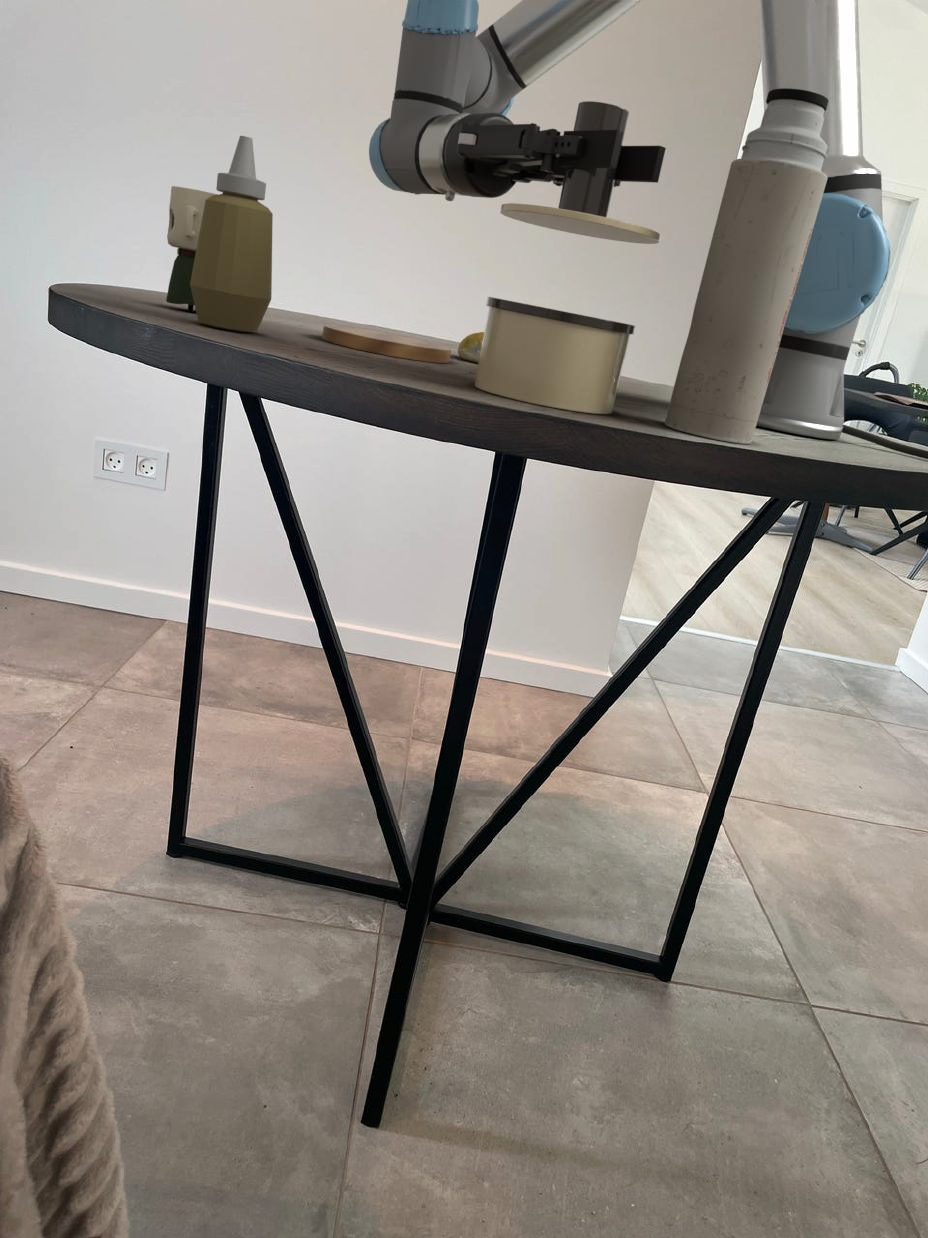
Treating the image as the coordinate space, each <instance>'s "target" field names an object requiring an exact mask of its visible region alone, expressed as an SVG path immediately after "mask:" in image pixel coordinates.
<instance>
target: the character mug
mask: <svg viewBox="0 0 928 1238" xmlns="http://www.w3.org/2000/svg"><path fill="white" fill-rule="evenodd" d="M214 195H219V194H217V193H214V192H209V191H205V190H200V189H194V188H188V187H184V186H175V185H172V186H171V188H170V198H169V205H168V207H169V208H168V209H169V210H168V211H169V213H168V214H169V215H168V216H169V218H168V229H167V235H166V240H167V244H168V245H169V246H171V247H172V248H177V249H176V257H175V259H174V262H173V265H172V268H171V275H170V278H169V282H168V288H167V294H166V299H165V302H167V303H168V304H172V305H187V312H190V313H192V312H194V310H195V311H196V309H195V304H194V300H193V295H192V291H191V286H190V282H191V276H192V271H193V265H194V260H195V255H196V249H197V244H198V238H199V233H200V227H201V222H202V217H203V211H204V206H205V200H206V199H208V198H209V197H211V196H214Z"/></svg>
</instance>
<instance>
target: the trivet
mask: <svg viewBox="0 0 928 1238" xmlns="http://www.w3.org/2000/svg"><path fill="white" fill-rule="evenodd" d="M321 339H322V340H323V341H326V342H328V343H332V344H335V345H338V346H342V347H346V348H351V349H353V350H359V351H364V352H368V353H373V354H378V355H382V356H388V357H394V358H400V359H405V360H412V361H417V362H418V361H419V362H427V363H437V364H448V363H450V360H451V354H452V348H451V347H448V346H446V345H442V344H438V343H434V342H431V341H427V340H422V339H417V338H413V337H407V336H403V335H399V334H395V333H389V332H382V331H377V330H372V329H365V328H360V327H353V326H347V325H339V324H323V327H322V335H321Z"/></svg>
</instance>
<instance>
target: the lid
mask: <svg viewBox="0 0 928 1238" xmlns="http://www.w3.org/2000/svg"><path fill="white" fill-rule="evenodd" d="M629 115H630V111H629V110H628V109H626V108H623V107H622V106H618V105H615V104H612V103H607V102H600V101H591V100H590V101H589V100H587V101H580V102H579V103H578V105H577V109H576V114H575V120H574V124H573V130H572V131H587V130H619V131H622V132H624V133H623V138H622V143H621V148H620V152H619V157H618V162H617V166H616V168H566V170H565V175H564V180H563V185H562V186H561V191H560V196H559V201H558V206H557V207H554V206H553V207H552V206H544V205H536V204H528V203H515V202H514V203H511V202H509V203H503V204H501V205H500V209H499V213H500V214H501V215H502V216H505V217H507V218H509V219H513V220H516V221H518V222H522V223H526V224H529V225H534V226H537V227H541V228H545V229H549V230H555V231H559V232H565V233H569V234H574V235H580V236H584V237H585V236H586V237H589V238H596V239H602V240H609V241H616V242H623V243H633V244H642V245H656V244H659V243H660V242H661V238H662V234H661V233H660V232H657V231H655V230H653V229H651V228H648V227H645V226H641V225H639V224H635V223H631V222H627V221H624V220H621V219H615V218H611V217H608V213H609V209H610V206H611V200H612V196H613V190H614V187H613V186H614V182H615V177H616V172H617V168H618V163H619V158H620V154H621V149H622V146H623V144H624V139H625V134H626V130H627V125H628V121H629Z"/></svg>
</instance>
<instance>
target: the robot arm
mask: <svg viewBox="0 0 928 1238" xmlns="http://www.w3.org/2000/svg"><path fill="white" fill-rule="evenodd" d="M643 1H644V0H520V2H518V3H517V4H516V5H514V6H513V7H512V8H511V9H509V10H508V11H507V12H506V13H504V14H503V15H502V16H500V17H499V18H498V19H497V20H496V21H494V22H493V23H492V24H491V25H489V26H488V27H487V28H485V30H483V31H482V32H480V33H479V34H478V35H477V32H478V30H479V24H478V18H479V11H480V7H479V5H480V4H479V2H478V0H407V2H406V3H407V4H406V9H405V14H404V18H403V21H402V22H401V27H402V31H401V40H400V46H399V47H400V48H399V54H398V55H399V56H398V64H397V69H396V70H397V71H396V79H395V87H394V93H393V100H392V103H391V109H390V110H391V111H390V117H388V118H387V119H385V120H383V121H381V122H380V123H379V124H378V125H377V127H376V128H375V130H374V132H373V133H372V135H371V137H370V140H369V145H368V156H369V157H368V159H369V164H370V166H371V170H372V171H373V173H374V176H375V177H376V178H377V179H378V181H379V182H380V183H381V184H382V185H383V186H385V187H386V188H388V189H391V190H392V191H396V192H402V193H408V194H414V195H442V196H444V199H445V200H446V201H447V202H454V199H455V196H460V197H461V196H463V197H473V198H486V199H495V198H499V197H501V196H504V195H505V194H507V193H508V192H509V191H511V189H512V188H513V187H514V186H515V184H516V183H520V184H521V183H522V184H523V183H524V184H530V183H532V182H541V183H551V182H552V184H553V185H555V186H556V187H562V185H563V180H564V175H565V170H566V168H616V166H617V162H618V157H619V152H620V148H621V143H622V138H623V133H624V132H622V131H619V130H587V131H573V130H564V131H563V134H561V133H562V132H561V131H559V130H558V129H556V128H548V129H543V130H542V129H541V126H540V125H537V123H535V122H531V123H516V124H515V123H514V122H513V121H512V120H511V119H510V118H508V117H507V115H508V113H509V112H510V110H511V108H512V106H513V103H514V100H515V97H516V96H517V95H518V94H519V93H521V92H522V91H523V90H525V89H526V88H527V87H529V86H530V85H531V84H533V83H534V82H535V81H536V80H538V79H539V78H541V77H542V76H544V75H545V74H546V73H548V72H549V71H550V70H552V69H553V68H554V67H555V66H557V65H559V64H560V63H561V62H563V61H564V60H565V59H567V58H568V57H569V56H570V55H572V54H573V53H575V52H576V51H577V50H578V49H580V48H581V47H582V46H584V45H586V44H587V43H588V42H589V41H591V40H592V39H594V38H595V37H596V36H598V35H599V34H600V33H601V32H603V31H604V30H606V29H607V28H608V27H609V26H610V25H612V24H614V23H615V22H616V21H617V20H619V19H620V18H621V17H623V16H625V15H626V14H627V13H629V12H630V11H631V10H632V9H634V8H635V7H636V6H638V5H639V4H640V3H642V2H643ZM757 7H758V25H759V27H758V28H759V42H760V43H759V45H760V61H761V78H762V79H761V80H762V96H763V97H762V98H763V113H764V112H765V110H766V109H767V107H768V104H767V103H766V99H767V95H768V92H769V91H771V90H774V89H781V88H791V89H800V90H806V91H811V92H814V93H818V94H820V95H823V96H824V97H826V98H827V99H828V101H829V102H828V105H827V109H826V111H825V112H824V114H823V118H824V122H823V125H822V129H821V133H820V137H821V138H822V139H823V141H824V142H825V143H826V144H827V151H826V156H827V158H826V160H824V161H823V165H822V169H821V171H822V172H823V173H825V174H826V175H827V177H828V178H827V182H826V186H825V189H824V193H823V196H822V200H821V203H820V206H819V210H818V213H817V217H816V220H815V224H814V227H813V231H812V234H811V238H810V241H809V244H808V248H807V251H806V255H805V258H804V262H803V265H802V269H801V272H800V276H799V279H798V283H797V286H796V289H795V293H794V296H793V299H792V302H791V305H790V308H789V312H788V315H787V318H786V322H785V325H784V329H783V333H782V336H781V340H780V344H779V348H778V352H777V355H776V359H775V362H774V366H773V369H772V372H771V376H770V379H769V383H768V386H767V390H766V393H765V397H764V400H763V404H762V407H761V411H760V414H759V417H758V421H757V424H756V427H761V428H765V429H771V430H773V431H779V432H785V433H788V434H794V435H799V436H806V437H811V438H818V439H825V440H834V441H835V440H840V438H841V434H842V433H843V434H846V435H849V436H852V437H854V438H858V439H861V440H863V441H867V442H870V443H872V444H874V445H878V446H880V447H884V448H886V449H889V450H893V451H894V452H899V453H902V454H906V455H909V456H913V457H917V458H922V459H924V460H928V450H926V449H922V448H918V447H913V446H910V445H906V444H902V443H899V442H896V441H893V440H891V439H887V438H885V437H882V436H880V435H877V434H874V433H871V432H868V431H864V430H861V429H858V428H855V427H853V426H849V425H846V424H844V423H845V379H844V378H845V373H844V371H845V367H846V363H847V360H848V356H849V353H850V351H851V347H852V344H853V341H854V337H855V335H856V332H857V328H858V325H859V321H860V319H861V315H863V314H864V313H865V311H866V310H867V309H868V308H869V307H871V305H872V304H873V303H874V302H875V300H876V299H877V297H878V296H879V294H880V291H881V290H882V288H884V284H885V281H886V279H887V276H888V273H889V269H890V263H891V262H890V261H891V245H890V244H891V243H890V240H889V238H888V237H887V235H888V234H887V230H886V228H885V225H884V219H883V217H884V216H883V215H884V214H883V190H882V189H883V188H882V187H883V186H882V183H883V182H882V171H881V170H879V169H878V168H877V167H875V166H874V165H873V164H872V163H870V162H869V161H868V160H866V158H865V156H864V145H863V144H864V143H863V142H864V139H863V115H862V114H863V113H862V87H861V86H862V83H861V55H860V24H859V23H860V22H859V21H860V20H859V0H757ZM476 35H477V36H476ZM665 153H666V147H665V146H662V145H622V149H621V154H620V158H619V163H618V168H617V172H616V177H615V182H614V186H613V188H616V187H621V182H624V183H625V182H629V183H630V182H631V183H659V180H660V175H661V171H662V167H663V162H664V158H665Z"/></svg>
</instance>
